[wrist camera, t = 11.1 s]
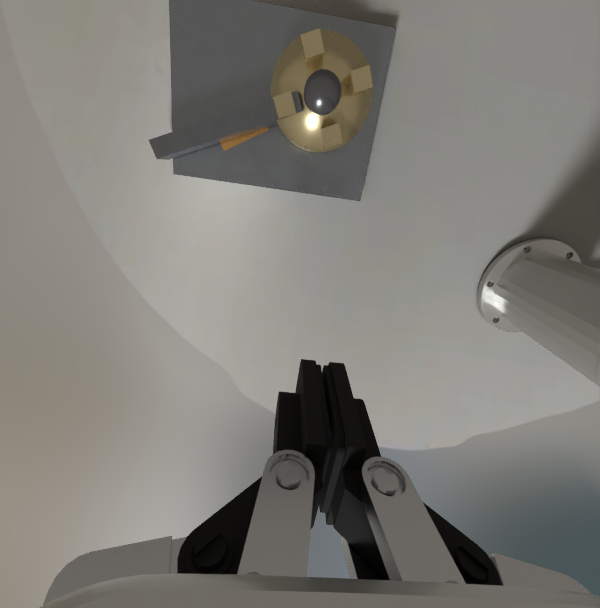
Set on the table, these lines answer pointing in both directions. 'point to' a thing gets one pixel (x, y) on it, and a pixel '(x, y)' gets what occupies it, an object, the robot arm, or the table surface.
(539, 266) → the robot arm
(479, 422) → the table surface
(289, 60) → the gold disc with handle
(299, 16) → the base plate
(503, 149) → the table surface
